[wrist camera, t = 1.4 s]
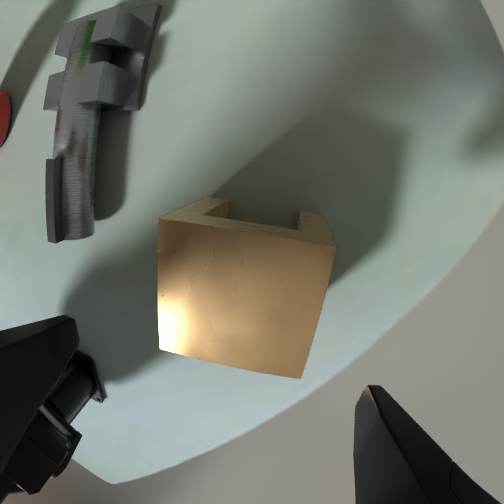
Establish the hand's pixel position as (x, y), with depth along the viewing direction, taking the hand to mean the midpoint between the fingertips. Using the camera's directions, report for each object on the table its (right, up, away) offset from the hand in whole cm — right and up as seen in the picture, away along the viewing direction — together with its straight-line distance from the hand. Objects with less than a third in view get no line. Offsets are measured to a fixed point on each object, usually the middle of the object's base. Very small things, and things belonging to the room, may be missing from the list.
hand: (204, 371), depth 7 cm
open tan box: (+2, +3, +10) cm, 10 cm away
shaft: (-9, +12, +9) cm, 17 cm away
